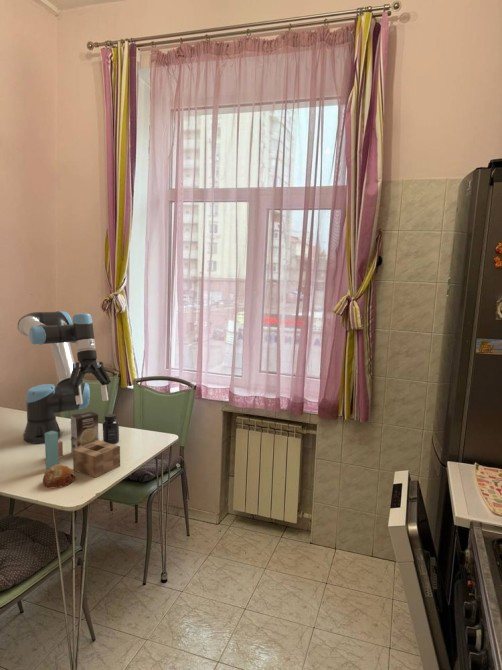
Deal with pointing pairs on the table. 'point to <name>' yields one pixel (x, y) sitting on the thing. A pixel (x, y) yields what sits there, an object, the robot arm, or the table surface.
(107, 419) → the supplement bottle
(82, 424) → the coffee box
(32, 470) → the table surface
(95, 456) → the hole block
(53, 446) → the long peg
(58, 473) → the bread roll
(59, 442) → the short peg
